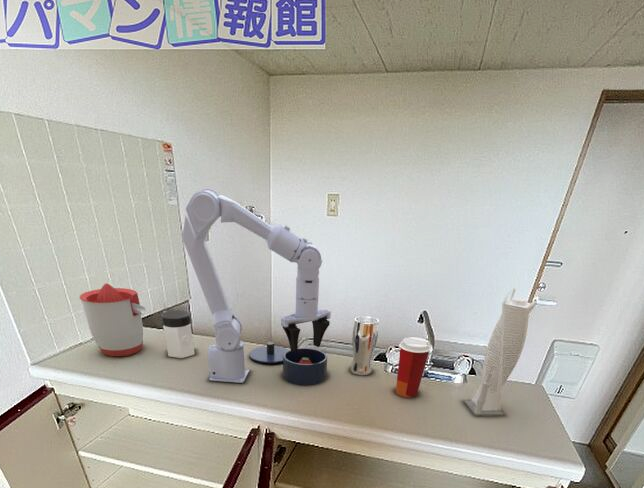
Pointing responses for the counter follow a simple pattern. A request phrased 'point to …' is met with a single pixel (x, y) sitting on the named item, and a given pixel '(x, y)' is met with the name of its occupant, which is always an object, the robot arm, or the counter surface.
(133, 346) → the citrus juicer
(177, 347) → the jar
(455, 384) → the counter surface
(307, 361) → the strawberry
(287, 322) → the robot arm
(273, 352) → the lid
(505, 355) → the skyscraper
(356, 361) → the beer glass
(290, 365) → the pot
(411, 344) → the paper cup
